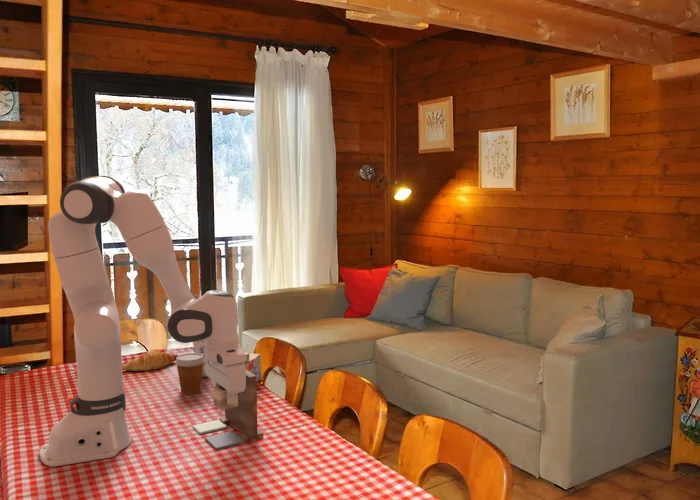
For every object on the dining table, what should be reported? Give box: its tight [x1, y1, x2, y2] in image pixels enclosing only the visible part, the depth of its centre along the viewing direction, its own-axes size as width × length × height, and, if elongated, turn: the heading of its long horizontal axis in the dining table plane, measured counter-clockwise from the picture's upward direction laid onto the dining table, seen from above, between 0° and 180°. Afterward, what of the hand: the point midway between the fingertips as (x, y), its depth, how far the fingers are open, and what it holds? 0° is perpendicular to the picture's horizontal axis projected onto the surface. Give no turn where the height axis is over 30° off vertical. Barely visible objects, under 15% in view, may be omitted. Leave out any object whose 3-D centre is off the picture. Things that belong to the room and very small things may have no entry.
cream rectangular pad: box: [192, 419, 228, 435], centre depth 178 cm, size 8×6×1 cm
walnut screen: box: [219, 369, 264, 443], centre depth 176 cm, size 6×18×18 cm, turn 34°
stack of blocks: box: [243, 352, 262, 382], centre depth 211 cm, size 21×6×12 cm, turn 163°
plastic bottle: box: [192, 339, 208, 378], centre depth 223 cm, size 6×7×20 cm
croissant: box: [122, 349, 179, 372], centre depth 235 cm, size 21×10×8 cm
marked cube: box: [212, 385, 238, 411], centre depth 168 cm, size 5×5×5 cm
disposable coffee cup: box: [174, 352, 205, 395], centre depth 208 cm, size 10×10×12 cm
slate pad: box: [204, 430, 245, 451], centre depth 169 cm, size 8×8×1 cm
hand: (225, 399), depth 168 cm, fingers closed on marked cube, 5 cm apart
